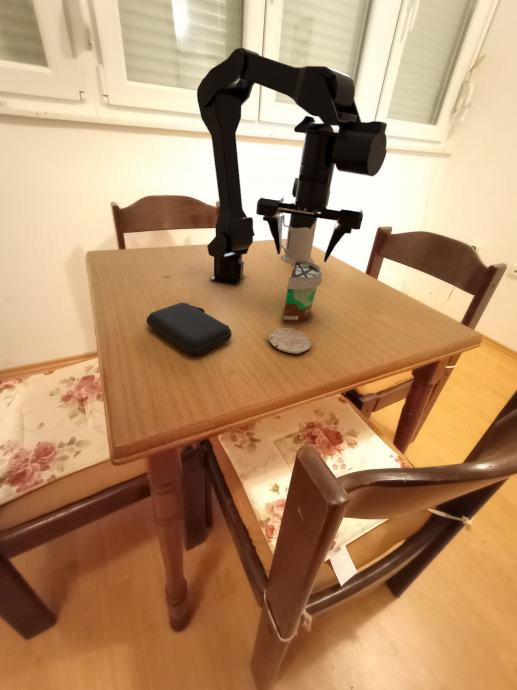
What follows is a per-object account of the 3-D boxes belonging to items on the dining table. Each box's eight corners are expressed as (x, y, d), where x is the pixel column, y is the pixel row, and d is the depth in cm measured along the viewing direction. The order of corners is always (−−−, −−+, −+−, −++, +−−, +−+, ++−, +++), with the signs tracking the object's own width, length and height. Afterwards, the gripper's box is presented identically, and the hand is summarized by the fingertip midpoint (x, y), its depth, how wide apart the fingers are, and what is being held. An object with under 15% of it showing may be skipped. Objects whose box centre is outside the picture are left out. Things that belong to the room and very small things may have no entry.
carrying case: (240, 338, 56) (189, 309, 64) (241, 324, 55) (189, 295, 62) (193, 363, 50) (142, 326, 57) (193, 347, 48) (140, 312, 55)
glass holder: (312, 265, 93) (322, 212, 84) (265, 261, 92) (270, 207, 84) (309, 256, 100) (318, 206, 92) (265, 252, 100) (270, 201, 91)
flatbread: (262, 334, 58) (262, 329, 58) (297, 328, 61) (298, 324, 60) (280, 359, 52) (281, 354, 52) (319, 352, 55) (320, 347, 54)
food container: (312, 331, 61) (322, 283, 55) (281, 325, 62) (288, 278, 56) (315, 304, 71) (324, 261, 65) (289, 300, 72) (295, 257, 66)
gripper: (370, 170, 58) (349, 253, 67) (273, 159, 61) (265, 239, 70) (374, 176, 49) (349, 271, 58) (259, 161, 52) (252, 254, 60)
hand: (301, 257), depth 62 cm, fingers open, 9 cm apart
